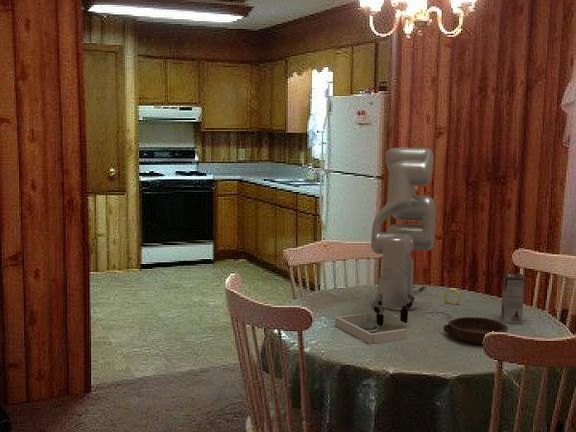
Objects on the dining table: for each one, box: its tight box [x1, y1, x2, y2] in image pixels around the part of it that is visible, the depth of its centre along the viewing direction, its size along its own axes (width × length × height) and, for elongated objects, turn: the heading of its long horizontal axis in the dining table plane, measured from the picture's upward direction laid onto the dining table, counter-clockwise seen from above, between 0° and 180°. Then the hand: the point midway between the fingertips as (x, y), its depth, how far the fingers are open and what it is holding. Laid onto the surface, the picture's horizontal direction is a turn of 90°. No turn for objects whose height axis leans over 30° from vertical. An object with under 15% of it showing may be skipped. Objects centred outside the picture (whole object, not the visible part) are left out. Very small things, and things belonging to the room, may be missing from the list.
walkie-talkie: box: [413, 285, 426, 296], centre depth 271 cm, size 9×4×20 cm
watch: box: [444, 287, 462, 305], centre depth 254 cm, size 6×3×6 cm, turn 62°
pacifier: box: [357, 310, 380, 333], centre depth 217 cm, size 7×6×6 cm
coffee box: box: [500, 272, 525, 325], centre depth 231 cm, size 9×6×16 cm
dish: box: [443, 316, 509, 345], centre depth 209 cm, size 18×22×5 cm
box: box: [334, 312, 408, 345], centre depth 215 cm, size 22×14×3 cm, turn 26°
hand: (391, 323), depth 220 cm, fingers open, 9 cm apart
